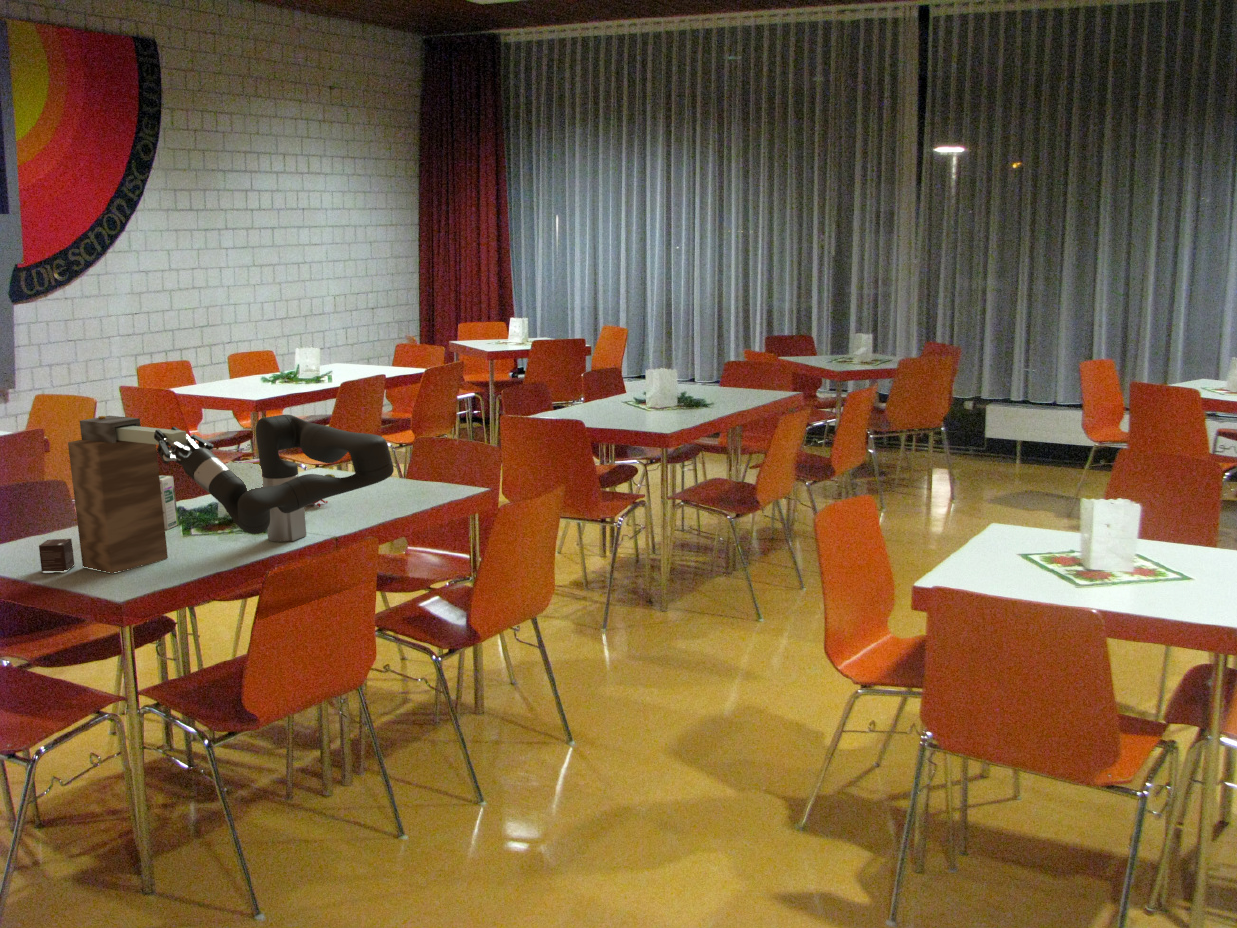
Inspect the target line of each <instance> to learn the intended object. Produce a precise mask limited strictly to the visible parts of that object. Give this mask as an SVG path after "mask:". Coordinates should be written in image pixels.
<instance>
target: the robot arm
mask: <svg viewBox="0 0 1237 928" xmlns="http://www.w3.org/2000/svg"><path fill="white" fill-rule="evenodd" d="M170 430H180V431H182V429H179V428H178V427H176V426H172V427H171V429H170ZM186 436H187V439H186V444H183V445H182V444H180V443H178V442H177V441H175V442H173V441H172V440H170V439H168V437H167V436H166V435H164V434H163V433H162V432H161V431H160V430H155V434H154V439H155V440H157V441H158V442H159V445H157V447H156V450H157V454H158V455H159V457H160V459H161V460H162V463H163V464H164V465H168V464H169V463H170V462H175V463H177V464H179V465H180V466H181V467H182V469H183V471H184V473H185V474H186V475H187V476H188V477H190V478H191V479H192V480H193V481H194V482H195V483H196V484H197V485H198V486H200V488H202V489H203V490H204V491H206V492H207V493H209V494H210V495H211V496H212V497H213V498H214V499H215V500H216V501H218V502H219V503H220V504H221V505H222V506H223V507H224V509H225V511H226V512H227V514H228V515H229V516H230V518H231V519H232V520H233V522H234V523H235V524H236V525H237V527H238V528H239V529H240V530H242V531H244V532H245V533H248V534H250V535H251V534H252V535H259V534H262V533H264V532H266V530H267V539H268V541H271V542H277V543H278V542H295V541H297V540H299V539H302V538H305V537H306V536H307V526H306V525H307V524H306V513H305V507H308V506H309V505H313V504H312V503H314V502H317V501H318V502H320V501H319V500H324V499H327V498H331V497H334V496H338V495H341V494H344V493H348V492H351V491H355V490H359V489H362V488H366V487H369V486H372V485H376V484H378V483H381V482H383V481H385V480H386V479H388V478H390V477H391V476H392V475H393V474H394V470H395V467H394V464H393V460H392V457H391V456H392V455H391V452H390V448H389V445H388V442H387V441H386V439H385V438H384V437H383V436H381V435H379V434H378V435H377V434H373V433H363V432H352V431H347V430H343V429H339V428H335V427H332V426H329V425H325V424H320V423H319V424H318V423H314V422H310V421H309V422H308V421H306V420H304V419H301V418H299V417H297V416H295V415H291V414H278V415H272V416H266V417H265V416H264V417H262V418H260V419H258V421H257V422H256V426H255V440H256V446H257V447H256V448H257V452H258V453H257V454H258V459H259V461H260V466H261V469H262V475H263V486H264V487H261V488H255V489H251V490H249V491H247V488H246V485H245V484H244V482H243V481H242V480H241V479H240V478H239V477H237V476H236V475H235V474H234V471H232V470H231V469H230V467H228V465H227V464H225V462H223V460H221V459H220V458H219V457H218V456H217V455H216V454H215V453H214V452H213V449H214V444H213V443H211V442H209V441H207V440H205V439H204V438H202V437H200V436H198V435H196V434H191V435H189V434H188V433H186ZM196 441H197V442H198V443H197V442H196ZM168 444H169V445H170V446H168ZM295 448H299V449H301V451H302V452H303V454H304V455H305V457H307V458H308V459H311V460H313V461H316V462H320V463H324V464H334V463H337V462H339V461H340V460H342V459H343V458H344V457H345V456H346V455H347V453H348V454H349V456H350V458H351V461H352V466H353V469H354V470H353V471H354V473H353V474H351V475H348V476H345V477H336V476H335V477H329V476H325V475H323V474H316V473H308V474H307V473H306V474H303V475H300V476H299V467H298V464H297V463H296V462H294V461H287V460H284V459H282V458H281V457H280V452H279V451H284V450H290V449H295ZM318 502H317V503H318Z"/></svg>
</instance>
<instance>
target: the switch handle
mask: <svg viewBox="0 0 1237 928" xmlns="http://www.w3.org/2000/svg"><path fill="white" fill-rule="evenodd" d="M155 430H160V431H161V432H162V433H163V434H164V435H166V436H167V437H168V439H170V440H172V441H173V442H175V441H177V442H178V443H180V444H182V445H183V444H186V439H187V436H186V434H187V431H186V430H181V429H180V430H181V431H180V430H171V429H170V428H169V429H167V428H158V427H148V426H141V427H140V426H130V425H123V426H117V427H115V435H116V440H120V441H129V442H138V443H147V444H156V446H158V445H159V442H158V441H157V440H155V439H154V434H155ZM168 447H171V446H170V445H169V444H168Z"/></svg>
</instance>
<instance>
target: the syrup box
mask: <svg viewBox="0 0 1237 928" xmlns="http://www.w3.org/2000/svg"><path fill="white" fill-rule="evenodd" d="M159 479H160V488H161V498H162V507H163V517H164V526H165V531H168V530H170V529H173V528H174V527H176V526H179V515H178V508H177V498H176V491H175V483H174V476H173V475H159Z"/></svg>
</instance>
